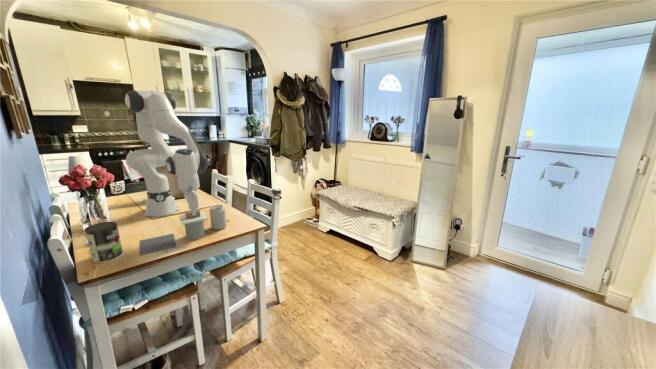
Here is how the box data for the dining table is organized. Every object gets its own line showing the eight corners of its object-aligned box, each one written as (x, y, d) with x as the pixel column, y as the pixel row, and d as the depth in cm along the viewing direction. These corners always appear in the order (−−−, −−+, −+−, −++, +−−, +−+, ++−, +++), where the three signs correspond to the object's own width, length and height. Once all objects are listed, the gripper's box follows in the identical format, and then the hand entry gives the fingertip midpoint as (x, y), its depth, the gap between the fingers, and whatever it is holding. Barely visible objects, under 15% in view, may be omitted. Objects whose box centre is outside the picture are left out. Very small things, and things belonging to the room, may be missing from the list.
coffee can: (129, 250, 117) (122, 221, 113) (112, 263, 107) (105, 231, 103) (104, 250, 116) (97, 221, 112) (85, 263, 106) (77, 232, 102)
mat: (139, 241, 124) (139, 240, 124) (173, 234, 132) (173, 233, 132) (139, 256, 112) (139, 255, 112) (176, 247, 119) (176, 246, 119)
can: (217, 231, 135) (215, 210, 132) (208, 228, 139) (206, 207, 136) (229, 226, 142) (227, 205, 138) (220, 223, 145) (218, 203, 142)
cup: (197, 241, 125) (195, 222, 122) (182, 239, 127) (179, 220, 124) (208, 233, 133) (206, 215, 130) (194, 232, 135) (192, 214, 132)
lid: (179, 216, 128) (178, 210, 127) (203, 212, 134) (202, 206, 134) (182, 224, 120) (181, 217, 119) (207, 219, 126) (207, 213, 125)
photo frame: (188, 197, 187) (183, 163, 180) (152, 204, 172) (145, 167, 166) (182, 192, 197) (177, 160, 190) (148, 198, 183) (141, 163, 176)
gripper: (200, 188, 116) (203, 217, 120) (193, 178, 132) (196, 204, 136) (184, 191, 112) (188, 220, 116) (179, 180, 129) (182, 206, 132)
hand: (192, 211), depth 126 cm, fingers open, 8 cm apart
